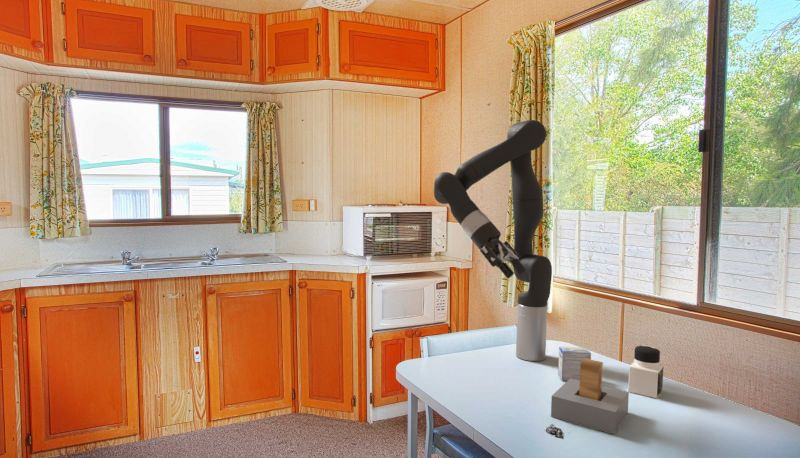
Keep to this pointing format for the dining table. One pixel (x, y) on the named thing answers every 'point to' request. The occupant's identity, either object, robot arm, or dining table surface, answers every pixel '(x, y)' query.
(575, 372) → the medicine box
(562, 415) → the socket block
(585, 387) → the wooden peg
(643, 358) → the medicine bottle
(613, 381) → the dining table surface
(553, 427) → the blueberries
